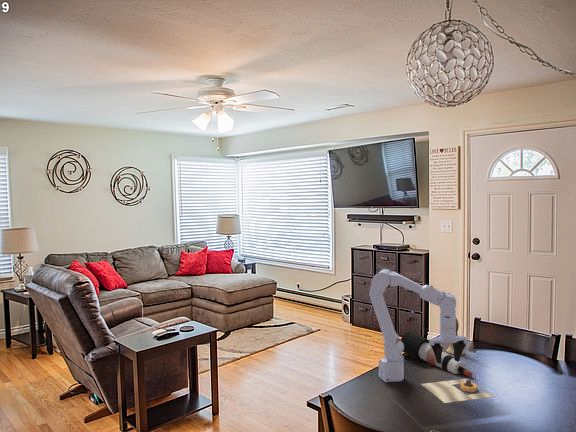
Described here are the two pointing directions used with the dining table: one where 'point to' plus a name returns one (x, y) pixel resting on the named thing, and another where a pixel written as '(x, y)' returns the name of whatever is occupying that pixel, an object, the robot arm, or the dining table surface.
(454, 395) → the cream flat rectangular board
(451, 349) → the hand bell
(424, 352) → the cable
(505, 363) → the dining table surface
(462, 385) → the orange hexagonal nut
